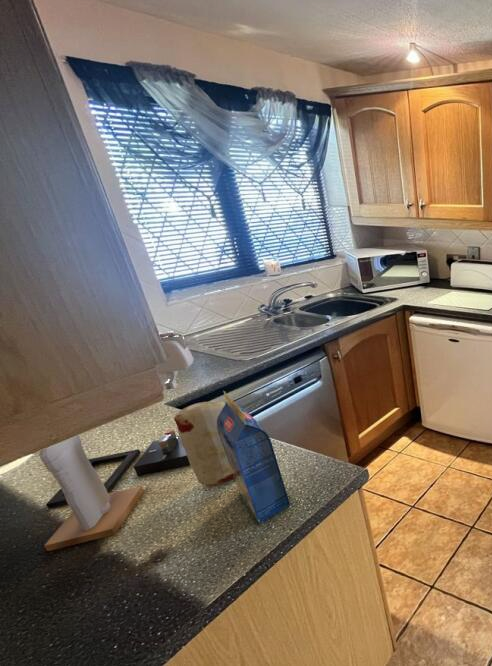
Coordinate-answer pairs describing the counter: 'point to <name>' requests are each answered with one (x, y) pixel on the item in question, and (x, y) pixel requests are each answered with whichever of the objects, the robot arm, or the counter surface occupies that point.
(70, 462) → the tall pale column
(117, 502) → the oak board
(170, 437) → the knob
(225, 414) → the blue food package
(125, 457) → the black rectangular frame
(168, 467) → the panel
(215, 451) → the food model
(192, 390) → the counter surface
